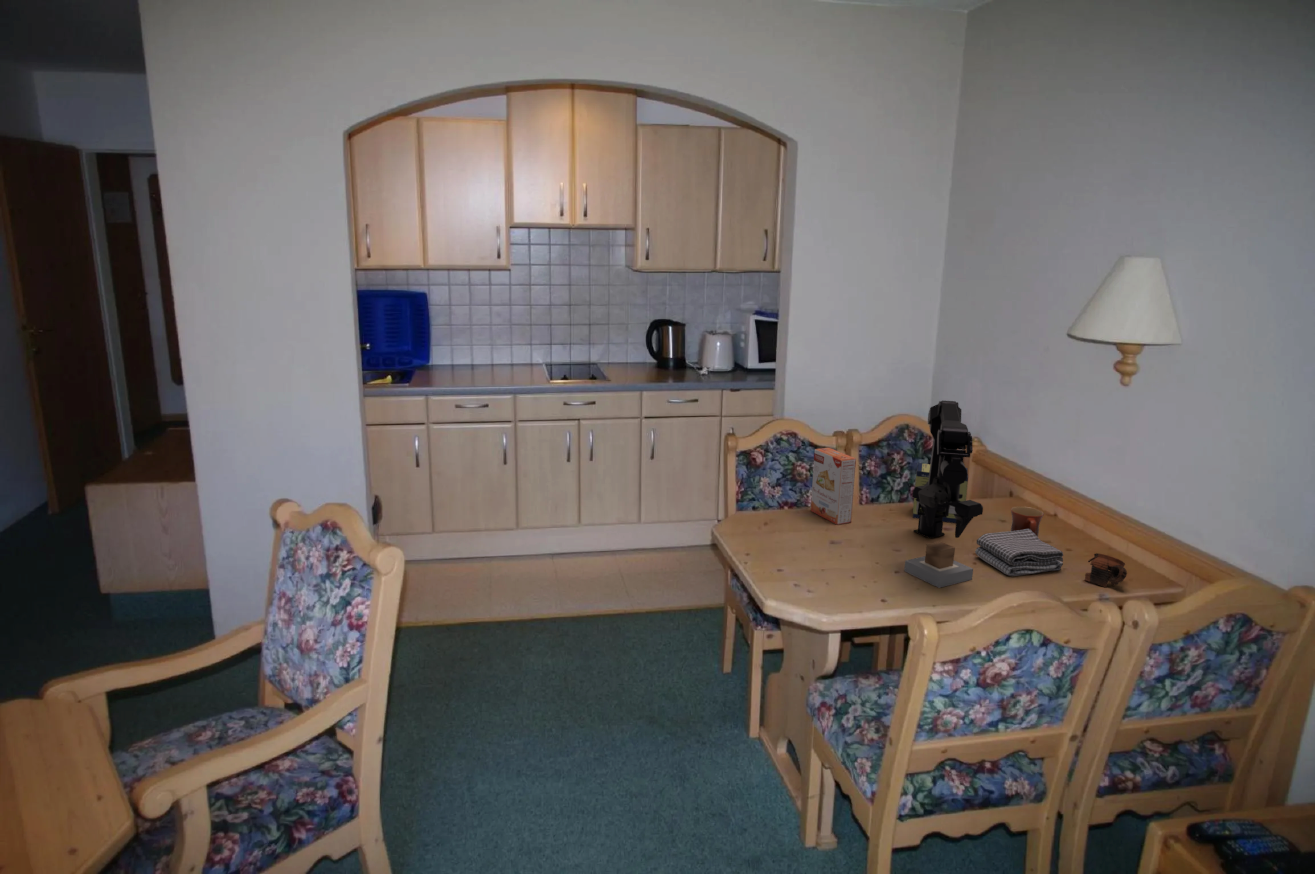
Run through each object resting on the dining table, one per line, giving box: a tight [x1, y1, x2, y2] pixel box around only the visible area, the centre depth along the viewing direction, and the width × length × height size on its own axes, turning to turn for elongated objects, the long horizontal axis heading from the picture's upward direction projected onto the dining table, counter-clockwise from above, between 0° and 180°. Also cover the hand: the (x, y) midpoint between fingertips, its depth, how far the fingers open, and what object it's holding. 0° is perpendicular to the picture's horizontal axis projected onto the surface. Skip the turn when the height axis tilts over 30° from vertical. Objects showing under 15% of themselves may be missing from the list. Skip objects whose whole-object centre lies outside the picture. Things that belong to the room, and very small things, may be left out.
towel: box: [974, 529, 1064, 577], centre depth 231 cm, size 15×18×8 cm
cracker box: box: [810, 447, 857, 525], centre depth 264 cm, size 14×6×21 cm, turn 25°
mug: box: [1010, 506, 1044, 538], centre depth 243 cm, size 12×9×10 cm
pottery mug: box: [1084, 552, 1128, 588], centre depth 220 cm, size 12×10×8 cm
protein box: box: [912, 462, 969, 524], centre depth 268 cm, size 10×16×16 cm
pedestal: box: [903, 555, 974, 589], centre depth 222 cm, size 12×12×3 cm
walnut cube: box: [924, 541, 956, 569], centre depth 221 cm, size 5×5×5 cm
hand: (943, 531), depth 220 cm, fingers open, 9 cm apart
